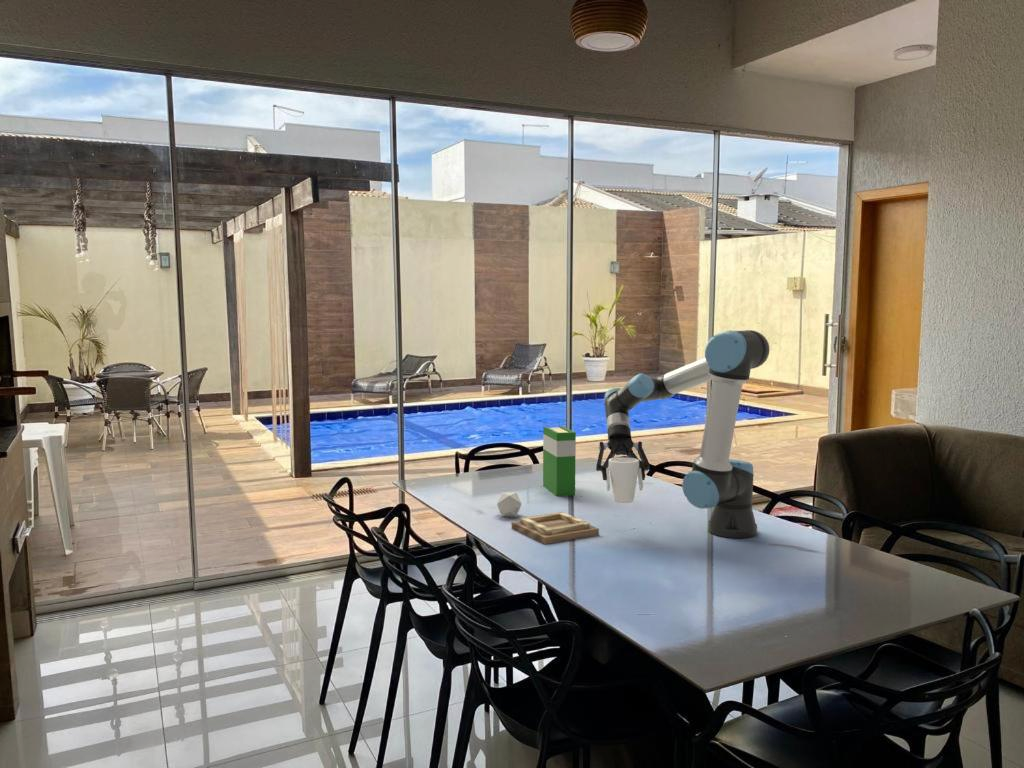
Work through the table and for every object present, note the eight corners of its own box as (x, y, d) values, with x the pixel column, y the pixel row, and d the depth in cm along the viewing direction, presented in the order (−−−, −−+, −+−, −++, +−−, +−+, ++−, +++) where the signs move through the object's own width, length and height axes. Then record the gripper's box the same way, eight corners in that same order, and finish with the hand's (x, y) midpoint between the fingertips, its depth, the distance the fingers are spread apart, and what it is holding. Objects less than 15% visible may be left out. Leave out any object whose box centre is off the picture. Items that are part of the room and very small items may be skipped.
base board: (598, 534, 251) (598, 523, 251) (544, 544, 241) (544, 532, 241) (563, 519, 268) (563, 509, 268) (511, 528, 258) (511, 517, 258)
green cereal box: (543, 486, 319) (543, 426, 316) (560, 485, 320) (561, 425, 318) (556, 496, 302) (556, 433, 299) (575, 495, 303) (575, 432, 301)
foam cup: (638, 497, 256) (638, 457, 255) (639, 504, 247) (640, 462, 246) (608, 497, 257) (608, 457, 256) (608, 503, 248) (608, 462, 247)
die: (512, 522, 268) (527, 497, 270) (490, 508, 269) (505, 484, 271) (512, 524, 276) (526, 500, 278) (491, 511, 277) (505, 487, 279)
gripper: (651, 436, 266) (659, 494, 251) (584, 437, 266) (588, 494, 252) (653, 422, 260) (662, 481, 246) (585, 423, 260) (590, 481, 246)
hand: (625, 488), depth 249 cm, fingers closed on foam cup, 9 cm apart
